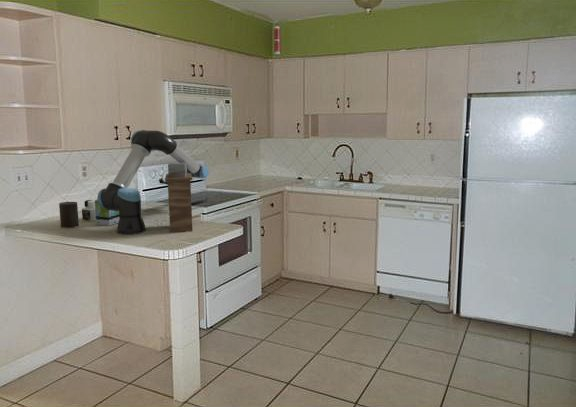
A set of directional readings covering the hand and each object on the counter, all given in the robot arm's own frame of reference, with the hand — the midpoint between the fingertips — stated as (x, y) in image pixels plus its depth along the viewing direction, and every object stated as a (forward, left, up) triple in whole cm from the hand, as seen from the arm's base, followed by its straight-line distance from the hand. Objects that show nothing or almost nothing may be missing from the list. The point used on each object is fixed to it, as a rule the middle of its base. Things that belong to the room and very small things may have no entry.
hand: (173, 174), depth 295 cm
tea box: (-26, +27, -28) cm, 47 cm away
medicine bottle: (-28, +45, -28) cm, 60 cm away
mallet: (-8, -14, +2) cm, 16 cm away
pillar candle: (-45, +40, -28) cm, 66 cm away
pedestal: (-13, -18, -28) cm, 35 cm away
